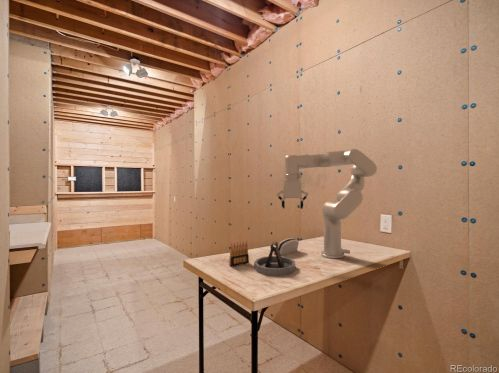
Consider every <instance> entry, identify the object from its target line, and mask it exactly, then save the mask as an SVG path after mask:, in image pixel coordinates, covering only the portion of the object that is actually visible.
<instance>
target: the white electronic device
mask: <svg viewBox="0 0 499 373" xmlns="http://www.w3.org/2000/svg"><path fill="white" fill-rule="evenodd" d="M299 243H300V242H299V240H297V239H296V238H295V237H294V238H292V237H288V238H284V239H283V240H281V241H280V242H278V249H279V252H280V254H281V256H282V257H283V256H285V255H287V254H290V253H294V252H297V251H298V247H299ZM273 255H275V252H274V251H273Z"/></svg>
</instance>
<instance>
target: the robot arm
mask: <svg viewBox="0 0 499 373" xmlns="http://www.w3.org/2000/svg"><path fill="white" fill-rule="evenodd" d="M350 165H351V167H350V175H351V176H350V180H349V181H348V183H347V184H346V185H345V186H343V188H342V189H339V191H338V193H337V194H336V198H335V199H336V200H328V201H327V200H326V202H324V203H323V205H322V208H321V211H322V217H323V218H322V219H323V251H321V252H320V253H321V254H320V255H321V256H322V257H324V258H327V259H341V258H344V257H345V254H351V250H349V249H346V248H345V249H343V247H342V222H341V221H342V220H345V219H346V218H348V217H349V216H351V214H353V212H354V211H356V209H357V208H359V206H360V205H361V204H362V202H363V198H364V196H363V193H362V191H363V189H364V188H365V178H369V177H373V176H374V175H375V174H376V173H377V171H378V170H377V169H378V168H377V165H376V163H375V162H374V161H373V160H372V159H370V158H369V156H367V155H366V154H365V153H363V152H362V151H361V150H359V149H357V148H350V149H346V150H334V151H326V152H320V153H317V154H307V153H306V154H300V155H298V154H297V155H296V154H289V155H285V158H284V177H285V178H284V180H283V186H282V190H281V191H278V192H277V193H276V196H277V197H278V199H279V200H280V202H281V208H282V209H283V210H284V209H285V207H286V206H285V205H286V204H285V199H300V209H303V208H304V201H305V200H306V199H307V197H308V195H309V193H308V192H306V191H305V190H303V189H302V182H301V178H302V176H303V175H302V174H300V170H302V169H311V168H312V169H313V168H330V167H341V166H350ZM281 195H282V196H281ZM302 195H304V197H302Z"/></svg>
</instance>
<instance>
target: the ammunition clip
mask: <svg viewBox="0 0 499 373" xmlns="http://www.w3.org/2000/svg"><path fill="white" fill-rule="evenodd" d="M228 261H229V262H228V263H229V265H228V266H229V267H231V268H232V266H233V267H238V266H241V265H242V264H243V265H246V264H247V263H248V264H249V263H250V258H249V248H248V241H247V240H245V241H244V240H242V242H241V241H239V242H236V243H235V242H233V243H232V242H231V243H230V249H229V260H228ZM237 265H238V266H237ZM243 265H242V266H243Z"/></svg>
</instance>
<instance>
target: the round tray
mask: <svg viewBox="0 0 499 373" xmlns="http://www.w3.org/2000/svg"><path fill="white" fill-rule="evenodd" d="M268 256H269V255H268ZM268 256H263V257H259V258H257V259H256V258H255V260H254V262H253V263H254V264H253V265H254V266H253V268H254V271H256V273H259V274H263V275H266V276H273V277H274V276H276V277H279V276H287V275H290V274H293V273H294V272H296V261H295V260H293V259H292V258H289V257H285V256H283V255H282V256H281V257H282V260H283V263H284V267H283V268H266V267H265V265H266V262H267V259H268ZM270 264H278V262H277V259H276V255H272V259H271V263H270Z"/></svg>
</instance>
